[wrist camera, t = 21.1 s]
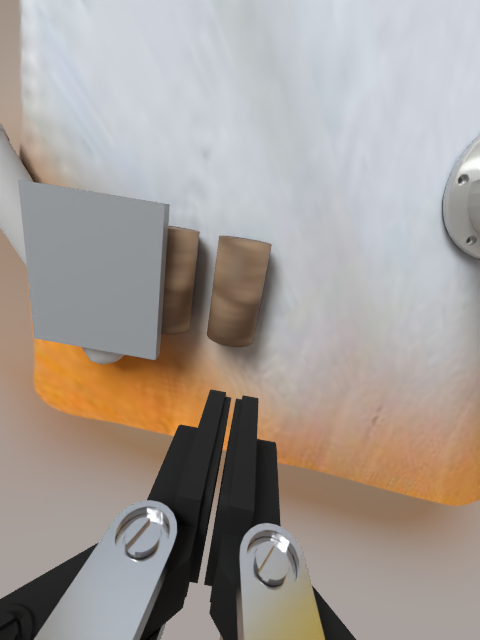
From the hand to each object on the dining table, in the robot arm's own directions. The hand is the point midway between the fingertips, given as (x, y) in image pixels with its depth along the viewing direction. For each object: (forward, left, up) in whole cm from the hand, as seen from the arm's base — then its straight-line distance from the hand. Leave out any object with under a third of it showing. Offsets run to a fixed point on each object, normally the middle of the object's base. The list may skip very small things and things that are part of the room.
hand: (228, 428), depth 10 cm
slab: (+14, 0, -17) cm, 22 cm away
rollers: (+5, 0, -22) cm, 23 cm away
